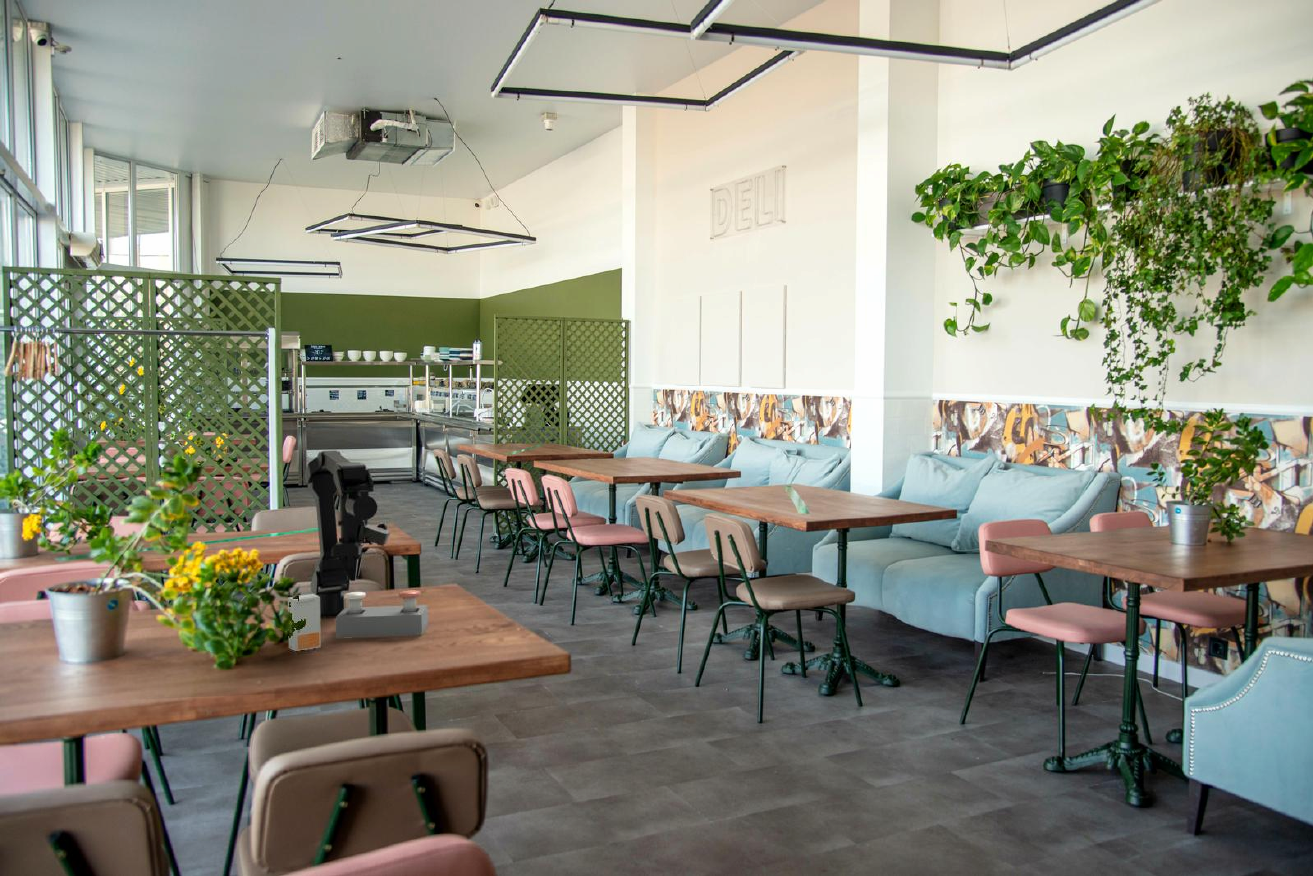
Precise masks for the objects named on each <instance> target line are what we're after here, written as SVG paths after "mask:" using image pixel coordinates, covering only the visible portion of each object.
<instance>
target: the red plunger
mask: <svg viewBox="0 0 1313 876" xmlns="http://www.w3.org/2000/svg"><path fill="white" fill-rule="evenodd" d="M420 596H421V591H420V590H414V589H411V590H410V589H409V590H403V591H399V592H398V597H399V598H402V606H403V613H404V612H417V605H418V604H417V598H418V597H420Z"/></svg>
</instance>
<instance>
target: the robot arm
mask: <svg viewBox="0 0 1313 876" xmlns="http://www.w3.org/2000/svg"><path fill="white" fill-rule="evenodd" d="M304 481H305V483H306V484H307V490H308V492H309V493H310V494H311V496H312V497H313V498H314V499H315V507H316V508H315V509H316V520H317V530H318V544H319V554H320V555H319V557H318V559H317V560H316V563H315V565H314V571H313V575H312V576H311V581H310V592H311V594H315V595H317V596H319V597H320V619H322V618H336V617H337V616H338V615H339V614H340V613H341V612H342V611H343V610H344V609H345V608H347V599H344V594H345V593H344V592H349V590H350V589H349V588H350V583H351V582H356V580H357V579H358V578H359V576H360V571H361V566H362V561H363V558H364V555H365V554H366V553H367V552H368V551H369V550H370V549H371V548H370V546H372V545H373V544H377V545H378V546H381V547H384V546H385V545H386V544H387V542H388V539H389V537H390V533H391V531H390V529H388V525H387V523H384V522H380V523H379V524H378V525H377V526H376V525H372V524H369V520H370V519H372V518H373V517H374V516H375V515H376V514H377V512H378V504H377V501H376V500H375V499H374V497H372V496H370V495H369V494H370V493H373V492H374V486H375V484H374V481H373V478H372V475H371V472H370V471H369V468H368V467H366V464H365V463H363V462H357V461H356V462H353V461H352V462H351V461H350V460H348V459H347V458H346V457H344V456H343V455H342V454H341V452H340V451H339V450H338V451H337V450H322V451H319V452H318V454H317V456H316V457H315V458H314V459H312V460H310V462H308V463H307V466H306V468H305V470H304ZM337 492H338V494H339V495H338V496H339V520H338V523H337V518H336V507H335V495H336V494H337ZM337 525H338V526H340V527H339V528H340V536H339V537H338V529H337ZM365 544H368V545H370V546H366V547H365Z"/></svg>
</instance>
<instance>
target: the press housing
mask: <svg viewBox="0 0 1313 876" xmlns="http://www.w3.org/2000/svg"><path fill="white" fill-rule="evenodd" d="M428 610H429V609H428V604H422V605H420V604H419V605H418V604H417V612H404V613H403V605H394V606H392V605H389V606H387V605H386V606H384V605H383V606H362V614H348V607H346V608H345V609H344V610H343V611H342V612H341V613H340V614H339V615H338V616H337V617H335V638H336V639H344V638H343V637H348V638H347V639H350V638H349V637H361V638H384V637H387V638H388V637H412V636H413V637H415V636H423V634H424V632H425V630H426V629H427V627H428V625H429V622H428V621H429V616H428V615H429V614H428V613H429V612H428Z"/></svg>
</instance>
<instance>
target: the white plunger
mask: <svg viewBox="0 0 1313 876" xmlns="http://www.w3.org/2000/svg"><path fill="white" fill-rule="evenodd" d="M365 598H366V592H364V591H352V592H346V593H344V599H346V601H347V608H348V614H362V607H363V599H365Z"/></svg>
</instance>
